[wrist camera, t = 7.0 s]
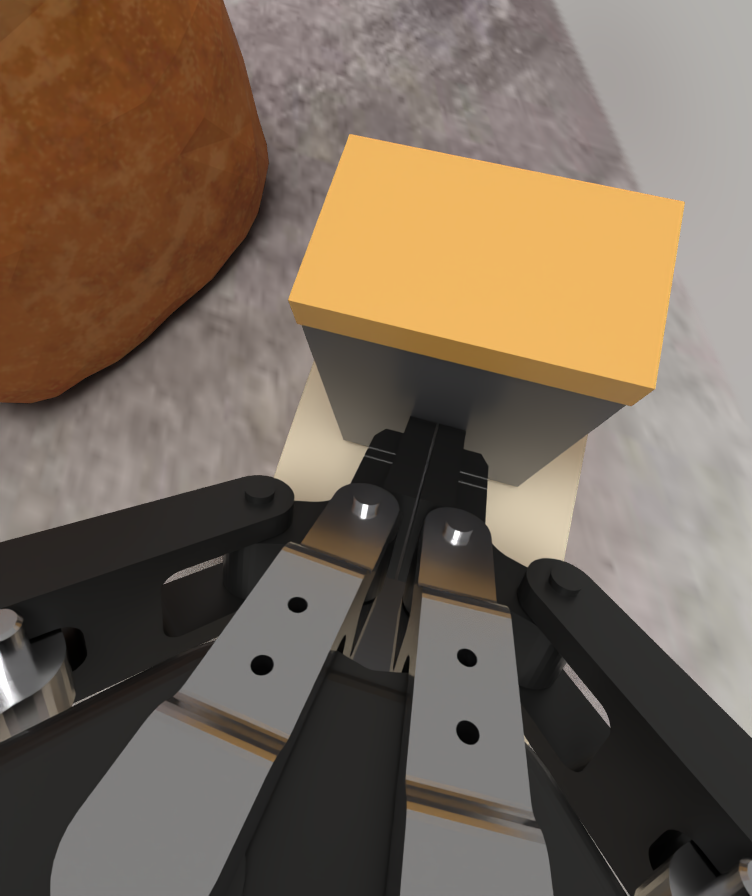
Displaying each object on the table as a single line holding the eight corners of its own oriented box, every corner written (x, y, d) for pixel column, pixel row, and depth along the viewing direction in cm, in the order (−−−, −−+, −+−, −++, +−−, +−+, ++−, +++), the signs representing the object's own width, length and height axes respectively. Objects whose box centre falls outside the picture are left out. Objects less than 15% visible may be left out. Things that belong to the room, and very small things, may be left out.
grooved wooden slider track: (445, 1042, 15) (455, 1136, 12) (143, 923, 16) (96, 987, 13) (586, 342, 21) (612, 309, 18) (356, 288, 22) (351, 250, 19)
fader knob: (518, 488, 16) (655, 389, 8) (341, 440, 17) (287, 300, 8) (540, 389, 17) (685, 201, 9) (370, 347, 18) (349, 134, 9)
